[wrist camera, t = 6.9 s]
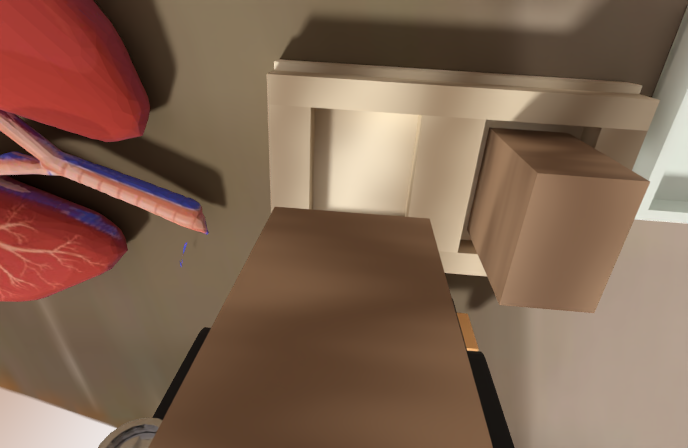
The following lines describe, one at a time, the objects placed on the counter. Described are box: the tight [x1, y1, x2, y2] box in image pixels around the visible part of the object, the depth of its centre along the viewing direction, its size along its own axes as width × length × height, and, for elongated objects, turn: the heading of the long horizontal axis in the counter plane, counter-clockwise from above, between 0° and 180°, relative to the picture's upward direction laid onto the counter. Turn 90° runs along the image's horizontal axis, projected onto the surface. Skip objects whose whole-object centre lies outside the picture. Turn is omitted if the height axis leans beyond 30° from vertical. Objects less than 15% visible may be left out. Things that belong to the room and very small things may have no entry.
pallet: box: [267, 59, 660, 276], centre depth 22 cm, size 18×11×3 cm, turn 87°
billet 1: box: [148, 207, 493, 448], centre depth 9 cm, size 4×6×7 cm, turn 177°
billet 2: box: [467, 127, 650, 313], centre depth 19 cm, size 4×6×7 cm, turn 177°
